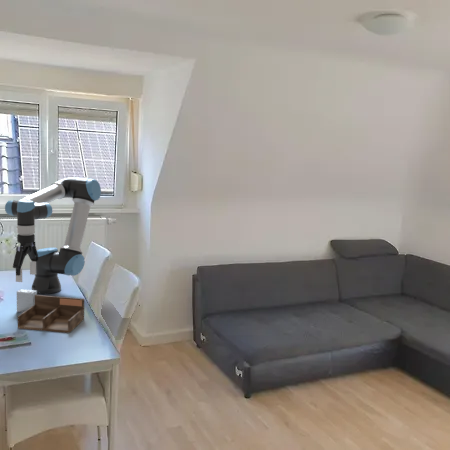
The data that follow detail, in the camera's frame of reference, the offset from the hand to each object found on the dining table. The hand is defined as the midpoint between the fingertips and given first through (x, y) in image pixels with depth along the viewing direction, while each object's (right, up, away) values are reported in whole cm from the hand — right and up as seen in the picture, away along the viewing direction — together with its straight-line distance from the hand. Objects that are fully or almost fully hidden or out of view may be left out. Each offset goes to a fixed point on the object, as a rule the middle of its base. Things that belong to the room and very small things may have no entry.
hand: (26, 278), depth 231 cm
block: (-1, -16, +3) cm, 17 cm away
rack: (+16, -19, -11) cm, 28 cm away
